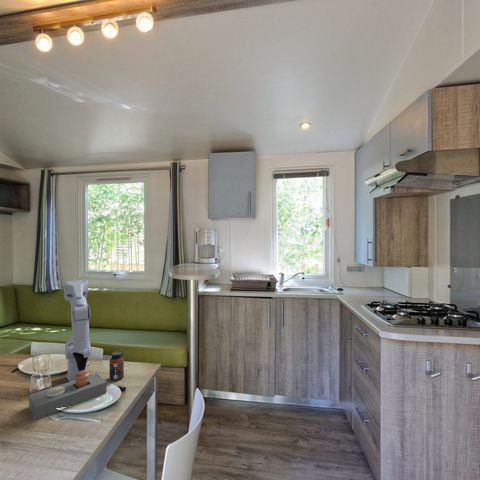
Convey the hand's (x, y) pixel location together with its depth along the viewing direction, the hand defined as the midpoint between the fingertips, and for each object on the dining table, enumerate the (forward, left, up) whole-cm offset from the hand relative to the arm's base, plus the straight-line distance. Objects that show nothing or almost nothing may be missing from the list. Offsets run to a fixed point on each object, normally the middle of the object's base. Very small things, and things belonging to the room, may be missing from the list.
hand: (81, 369), depth 116 cm
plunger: (0, -9, -9) cm, 13 cm away
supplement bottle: (-4, +16, -10) cm, 19 cm away
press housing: (0, -4, -10) cm, 11 cm away
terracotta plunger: (0, 0, -6) cm, 6 cm away
